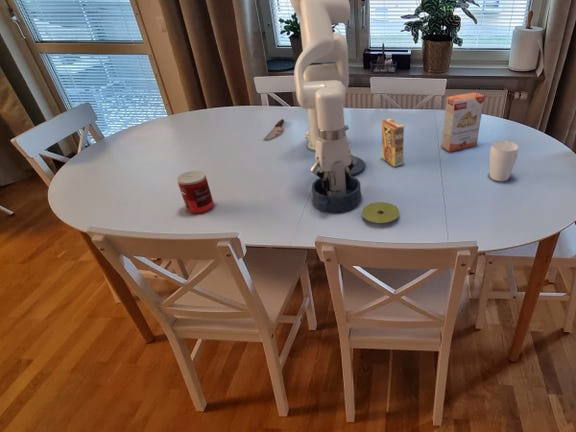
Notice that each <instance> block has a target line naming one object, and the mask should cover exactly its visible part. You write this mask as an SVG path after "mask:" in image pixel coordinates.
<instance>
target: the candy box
mask: <svg viewBox="0 0 576 432" xmlns="http://www.w3.org/2000/svg"><path fill="white" fill-rule="evenodd" d="M404 133H405V126H404V125H403V124H401V123H399V122H397V121H396V120H394V119H392V118H388V119H384V120H383V119H382V120H381V149H382V150H381V151H382V152H381V155H382V160H384V161H385V162H387V163H388V164H390V165H391V166H392V167H394V168H396V167H399V166H403V165H404V138H405V137H404V136H405V134H404Z"/></svg>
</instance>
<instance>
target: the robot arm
mask: <svg viewBox="0 0 576 432" xmlns="http://www.w3.org/2000/svg"><path fill="white" fill-rule="evenodd" d="M289 1H290V4H291V7H292V9H293V10H294V12H295V15H296V16H297V19H298V21H299V27H300V28H299V29H300V37H301V38H300V39H301V47H302V51H301V53H300V54H299V56H298V58H297V60H296V62H295V66H294V69H293V70H294V71H293V77H294V87H295V94H296V95H295V96H296V99H297V103H298V105H299V106H300V107H301V108H303V109H305V110H307V116H308V124H309V130H307V131H305V132H304V135H303V137H304V139H308V143H307V147H308V149H310V150H312V151H315V153H314V154H315V162H314V163H313V165H312V166H311V168H310V169H309V171H310V172H311V173H312V174H313V175H315V176H317V178H321V180H322V187H323V188H324V189H325V190H326V191H329V190H330V189H329V180H328V179H327V176H328V173H329V171H331V165H332V164H333V163H334V162H335V161H337V159H338V160H340V161H342V162H343V163H344V167H345V182H346V185H347V186H348V185H349V174H350V172H351V169H352V168H353V167H354V165H355V163H356V162H357V161H358V159H357V158H355V157H356V156H355V157H354V155H353V154H351V153H352V151H351V146H350V141H349V137H348V135H347V134H346V131H348V130H349V129H350V127H349V125H348V124H345V111H344V109H345V108H344V103H345V101H346V100H347V89H348V87H349V85H350V69H349V67H350V66H349V47H348V41H347V38H346V37H345V35H343V34H342V33H340V32H333V30H334V29H333V24H347V23H349V21H350V17H351V4H350V0H289ZM318 63H319V64H318ZM323 63H326V64H323ZM327 63H328V64H327ZM318 169H320V171H319V170H318Z"/></svg>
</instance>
